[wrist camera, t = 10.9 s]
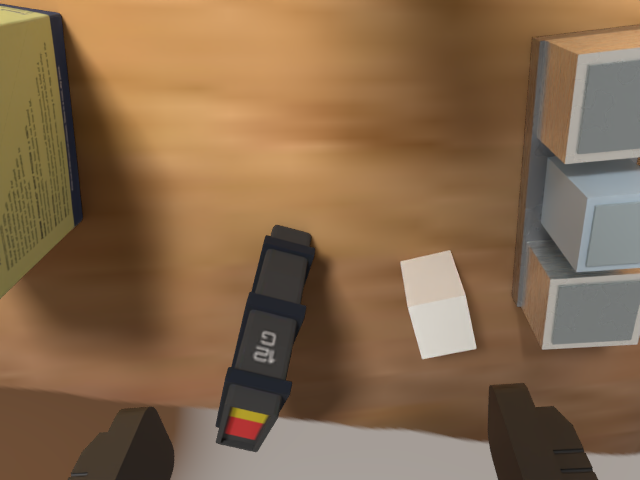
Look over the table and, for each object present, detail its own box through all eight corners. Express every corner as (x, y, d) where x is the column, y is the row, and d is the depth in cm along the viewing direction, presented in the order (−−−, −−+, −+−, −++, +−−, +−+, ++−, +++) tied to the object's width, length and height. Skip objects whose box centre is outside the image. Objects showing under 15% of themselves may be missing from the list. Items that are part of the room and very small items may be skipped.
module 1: (400, 261, 40) (407, 307, 35) (450, 250, 39) (465, 294, 34) (413, 309, 42) (422, 359, 37) (460, 299, 42) (476, 348, 36)
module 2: (547, 157, 34) (589, 199, 28) (618, 150, 33) (675, 192, 27) (540, 222, 36) (577, 274, 30) (606, 217, 35) (656, 268, 30)
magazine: (327, 207, 36) (285, 415, 28) (294, 290, 47) (258, 458, 38) (276, 193, 36) (218, 400, 27) (255, 280, 47) (209, 447, 38)
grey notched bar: (532, 37, 31) (573, 55, 26) (650, 23, 31) (720, 38, 25) (511, 295, 41) (538, 351, 35) (601, 289, 40) (643, 345, 34)
